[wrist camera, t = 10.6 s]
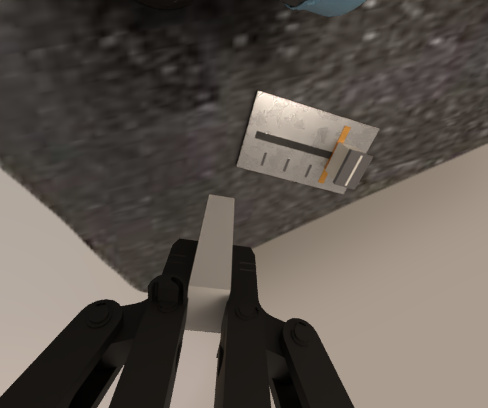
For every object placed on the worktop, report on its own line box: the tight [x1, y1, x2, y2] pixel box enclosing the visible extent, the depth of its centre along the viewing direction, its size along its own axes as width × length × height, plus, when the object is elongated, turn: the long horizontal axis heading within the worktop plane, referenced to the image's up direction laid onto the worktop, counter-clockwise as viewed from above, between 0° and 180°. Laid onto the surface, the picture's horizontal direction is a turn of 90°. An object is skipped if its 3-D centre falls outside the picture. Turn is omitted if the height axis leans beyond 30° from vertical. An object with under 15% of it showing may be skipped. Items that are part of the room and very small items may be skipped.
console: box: [237, 90, 379, 194], centre depth 38 cm, size 12×20×4 cm, turn 74°
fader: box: [325, 142, 373, 190], centre depth 37 cm, size 5×3×5 cm, turn 164°
